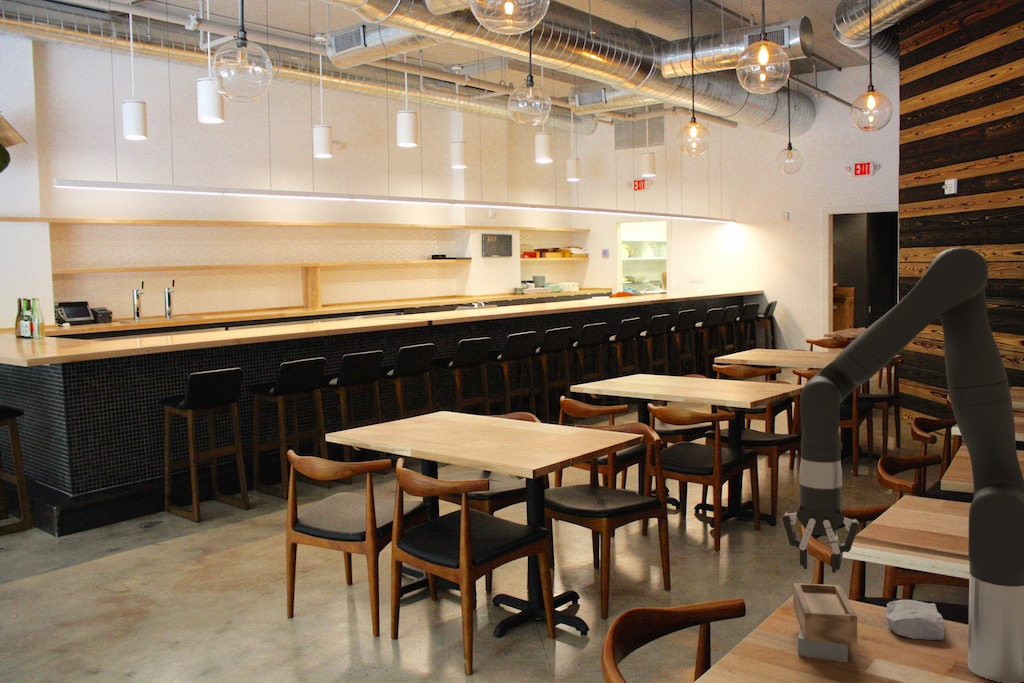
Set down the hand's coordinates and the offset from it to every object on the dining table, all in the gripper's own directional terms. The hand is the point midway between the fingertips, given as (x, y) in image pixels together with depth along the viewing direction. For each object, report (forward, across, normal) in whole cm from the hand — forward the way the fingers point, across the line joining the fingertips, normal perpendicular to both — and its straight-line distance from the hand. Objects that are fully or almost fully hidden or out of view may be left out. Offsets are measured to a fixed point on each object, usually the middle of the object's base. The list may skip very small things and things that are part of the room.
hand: (819, 569), depth 154 cm
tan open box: (+11, -1, 0) cm, 11 cm away
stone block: (+14, -12, -13) cm, 22 cm away
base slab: (+15, -1, 0) cm, 15 cm away
